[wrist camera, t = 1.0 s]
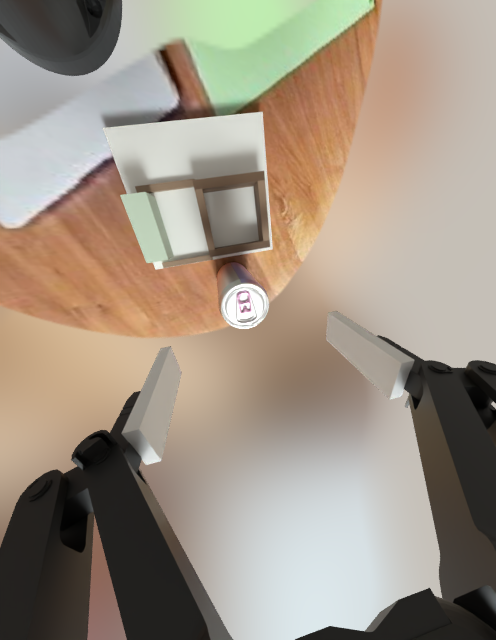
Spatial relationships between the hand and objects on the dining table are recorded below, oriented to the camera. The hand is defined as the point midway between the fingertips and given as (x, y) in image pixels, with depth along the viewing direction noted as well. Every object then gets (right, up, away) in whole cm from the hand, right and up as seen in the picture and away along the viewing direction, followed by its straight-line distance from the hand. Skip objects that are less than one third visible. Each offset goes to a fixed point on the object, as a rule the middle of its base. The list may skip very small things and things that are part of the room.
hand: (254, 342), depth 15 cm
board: (-7, +20, +13) cm, 25 cm away
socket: (-3, +18, +13) cm, 22 cm away
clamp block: (-15, +15, +12) cm, 24 cm away
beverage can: (-3, +10, +19) cm, 22 cm away
